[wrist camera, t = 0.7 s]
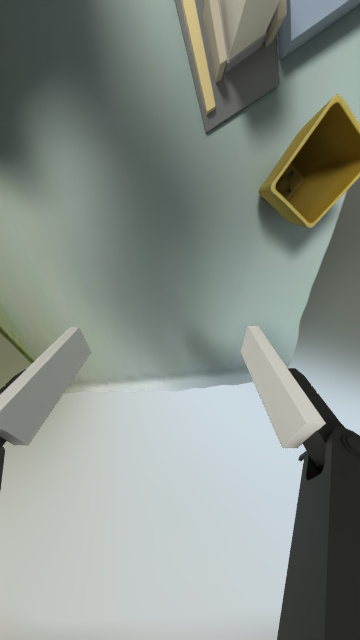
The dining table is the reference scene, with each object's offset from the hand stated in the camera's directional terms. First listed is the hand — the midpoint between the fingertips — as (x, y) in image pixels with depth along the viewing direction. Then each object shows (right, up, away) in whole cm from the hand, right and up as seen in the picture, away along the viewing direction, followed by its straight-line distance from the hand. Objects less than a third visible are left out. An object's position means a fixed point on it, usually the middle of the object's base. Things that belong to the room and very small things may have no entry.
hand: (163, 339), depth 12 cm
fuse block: (+7, +36, +6) cm, 37 cm away
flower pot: (+19, +25, +14) cm, 34 cm away
